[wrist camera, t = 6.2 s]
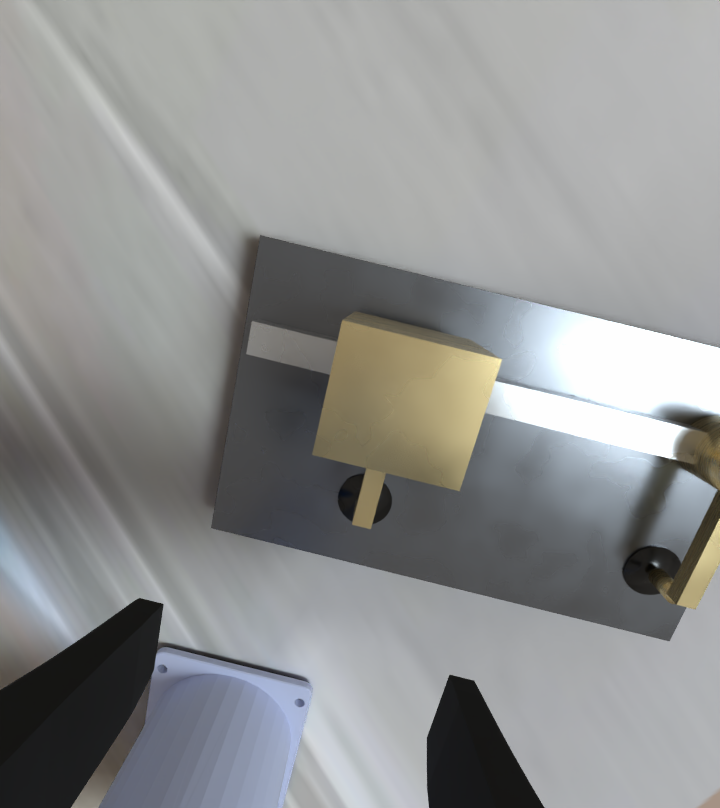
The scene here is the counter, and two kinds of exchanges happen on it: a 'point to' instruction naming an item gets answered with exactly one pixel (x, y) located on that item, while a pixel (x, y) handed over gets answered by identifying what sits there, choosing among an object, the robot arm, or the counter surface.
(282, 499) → the bolt plate
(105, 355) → the counter surface
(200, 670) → the robot arm
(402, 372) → the leg
